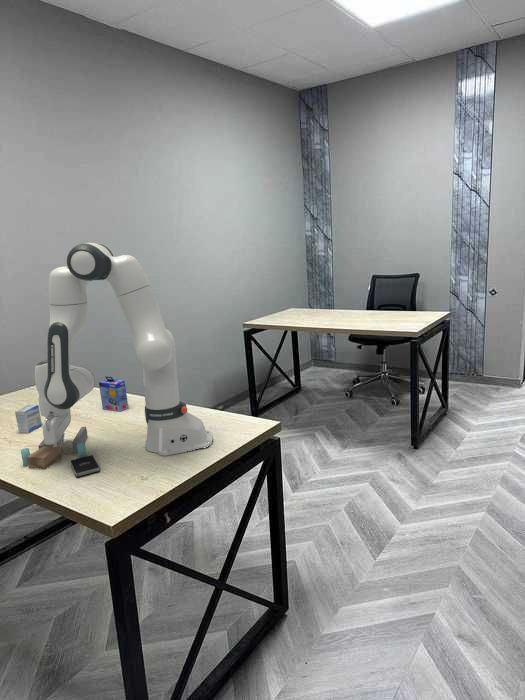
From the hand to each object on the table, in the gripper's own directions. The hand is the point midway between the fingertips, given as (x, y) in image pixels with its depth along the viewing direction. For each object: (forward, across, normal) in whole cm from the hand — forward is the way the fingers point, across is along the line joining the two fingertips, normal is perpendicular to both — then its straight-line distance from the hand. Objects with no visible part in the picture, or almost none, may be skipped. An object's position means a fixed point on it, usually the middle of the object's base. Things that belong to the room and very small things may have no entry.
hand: (60, 446), depth 161 cm
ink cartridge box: (+2, +40, -12) cm, 41 cm away
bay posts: (+2, -8, 0) cm, 8 cm away
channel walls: (+2, +4, 0) cm, 4 cm away
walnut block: (+2, -8, +3) cm, 9 cm away
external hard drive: (+2, -16, -11) cm, 19 cm away
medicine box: (+2, +25, +17) cm, 31 cm away
